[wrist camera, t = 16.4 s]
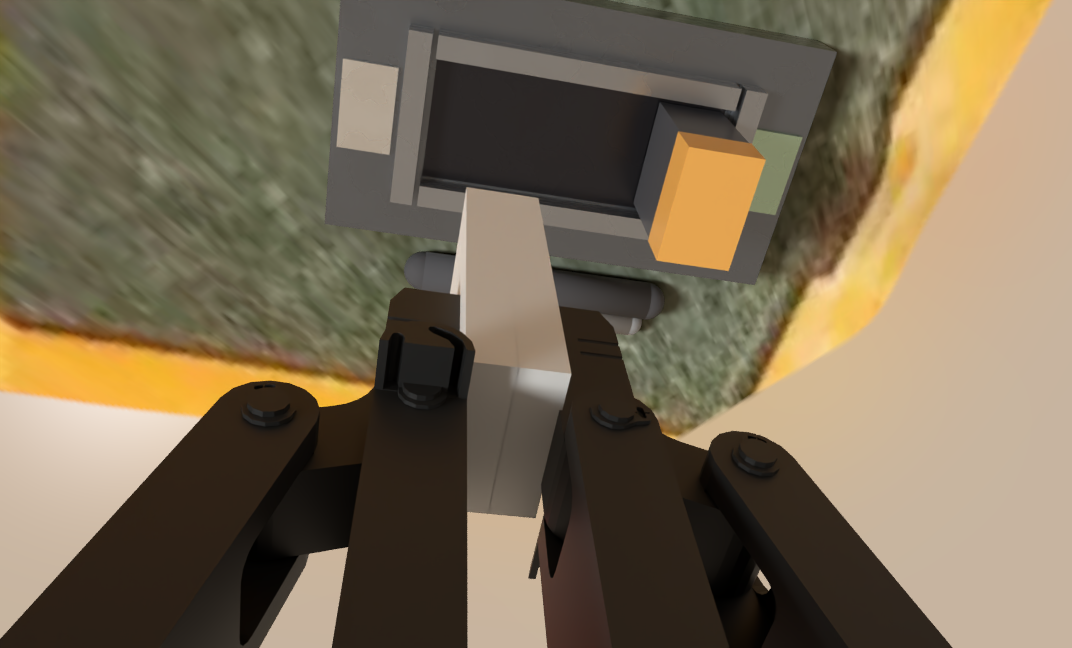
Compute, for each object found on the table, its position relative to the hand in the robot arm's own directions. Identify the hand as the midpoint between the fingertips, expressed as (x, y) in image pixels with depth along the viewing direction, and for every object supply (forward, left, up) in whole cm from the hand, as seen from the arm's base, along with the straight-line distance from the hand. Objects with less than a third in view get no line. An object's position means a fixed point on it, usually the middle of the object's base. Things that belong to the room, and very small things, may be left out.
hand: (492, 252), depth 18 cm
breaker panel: (+5, -4, -24) cm, 25 cm away
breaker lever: (+10, -4, -22) cm, 24 cm away
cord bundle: (+5, -12, -24) cm, 28 cm away
